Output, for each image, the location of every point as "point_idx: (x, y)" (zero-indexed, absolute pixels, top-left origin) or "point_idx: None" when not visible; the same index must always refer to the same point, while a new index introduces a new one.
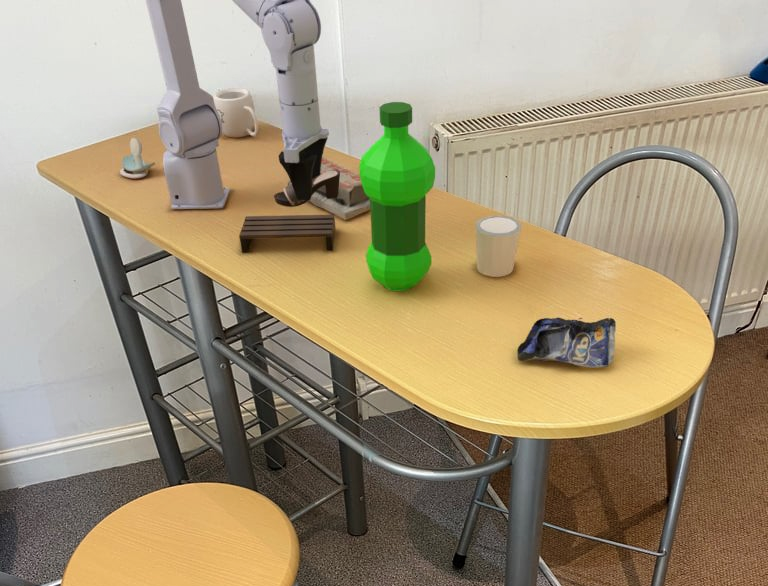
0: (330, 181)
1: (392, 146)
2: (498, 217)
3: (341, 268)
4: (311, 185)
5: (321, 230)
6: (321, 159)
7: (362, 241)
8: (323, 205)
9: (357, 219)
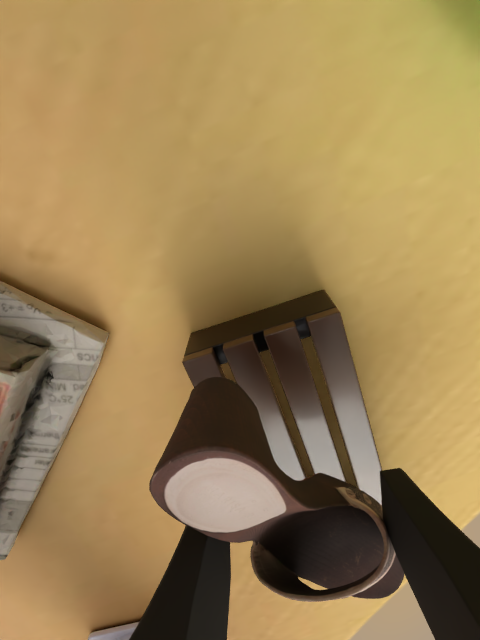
0: (267, 456)
1: None
2: None
3: (438, 211)
4: (431, 526)
5: (323, 354)
6: (152, 625)
7: (226, 217)
8: (67, 428)
9: (78, 300)
